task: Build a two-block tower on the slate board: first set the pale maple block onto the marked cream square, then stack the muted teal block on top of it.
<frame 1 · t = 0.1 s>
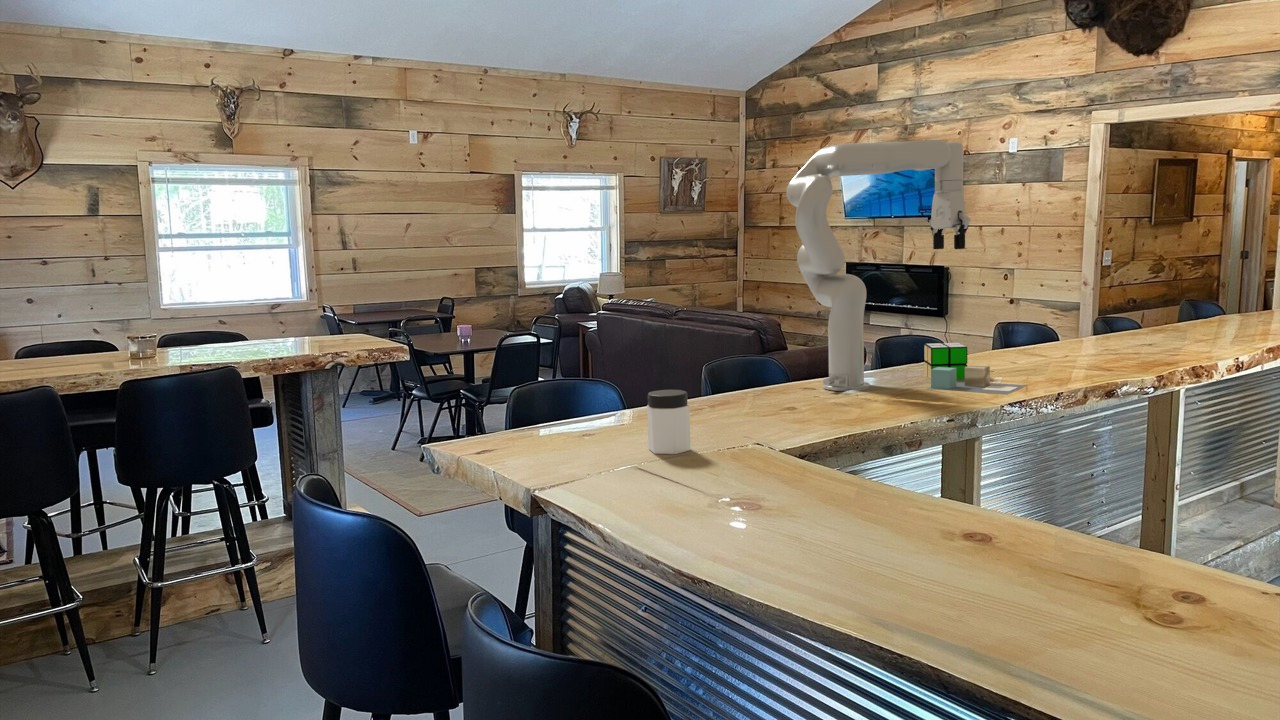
hand: (948, 249, 262), 37 cm above the bar counter, tool pointing down, fingers open, 9 cm apart
puzzle cube: (945, 380, 266), on the bar counter
slate board: (976, 389, 247), on the bar counter
jar: (669, 451, 191), on the bar counter
maple block: (977, 385, 249), point 1 cm above the bar counter, touching slate board
teal block: (943, 387, 248), point 1 cm above the bar counter, touching slate board
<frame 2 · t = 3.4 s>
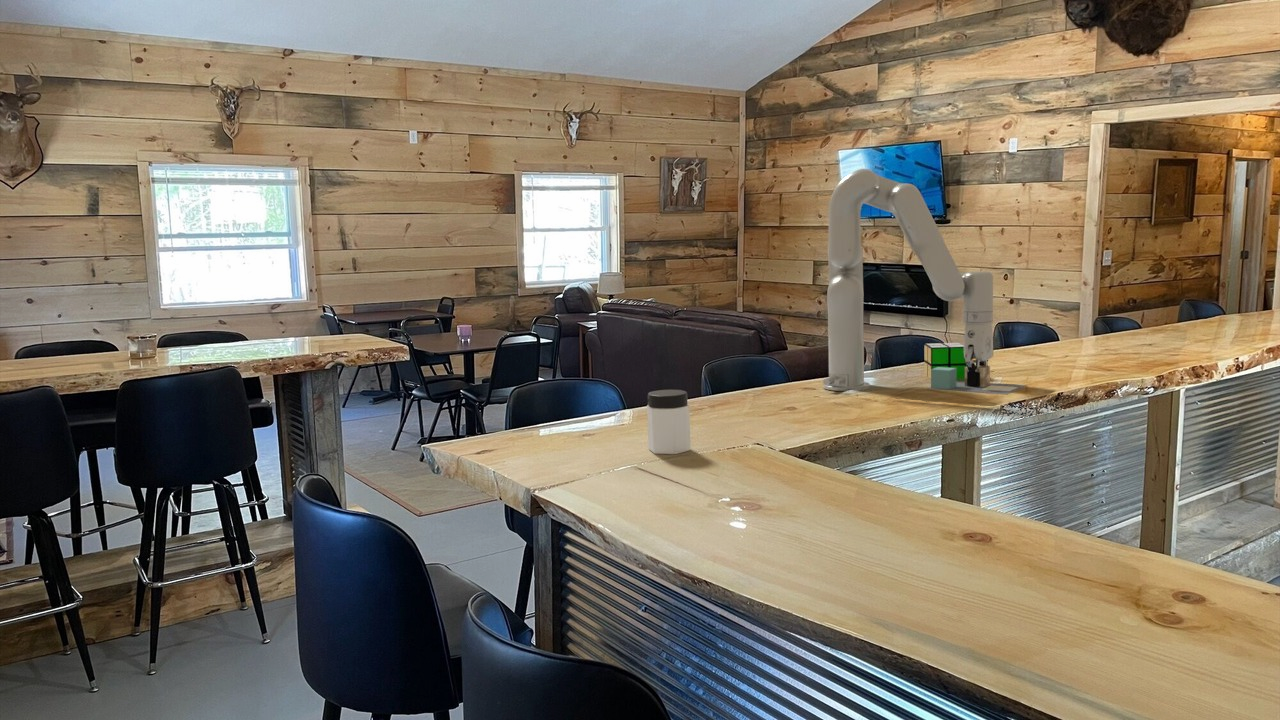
hand: (977, 384, 249), 1 cm above the bar counter, tool pointing down, fingers closed on maple block, 5 cm apart
maple block: (977, 385, 249), point 1 cm above the bar counter, touching gripper, slate board
everything else where it was.
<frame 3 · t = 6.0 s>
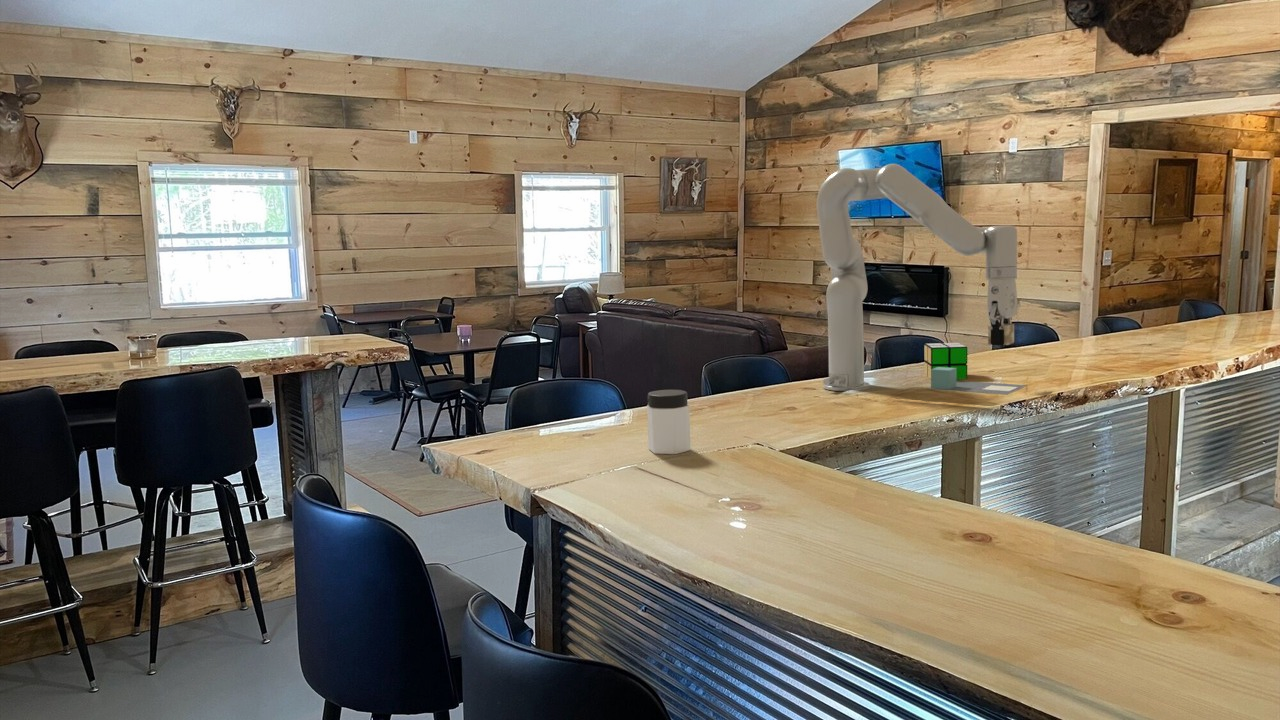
hand: (1001, 343, 241), 13 cm above the bar counter, tool pointing down, fingers closed on maple block, 5 cm apart
maple block: (1001, 343, 241), point 13 cm above the bar counter, touching gripper
everything else where it was.
when the fingers open (2 cm above the bar counter, at t = 8.2 s): maple block stays where it is, resting on slate board.
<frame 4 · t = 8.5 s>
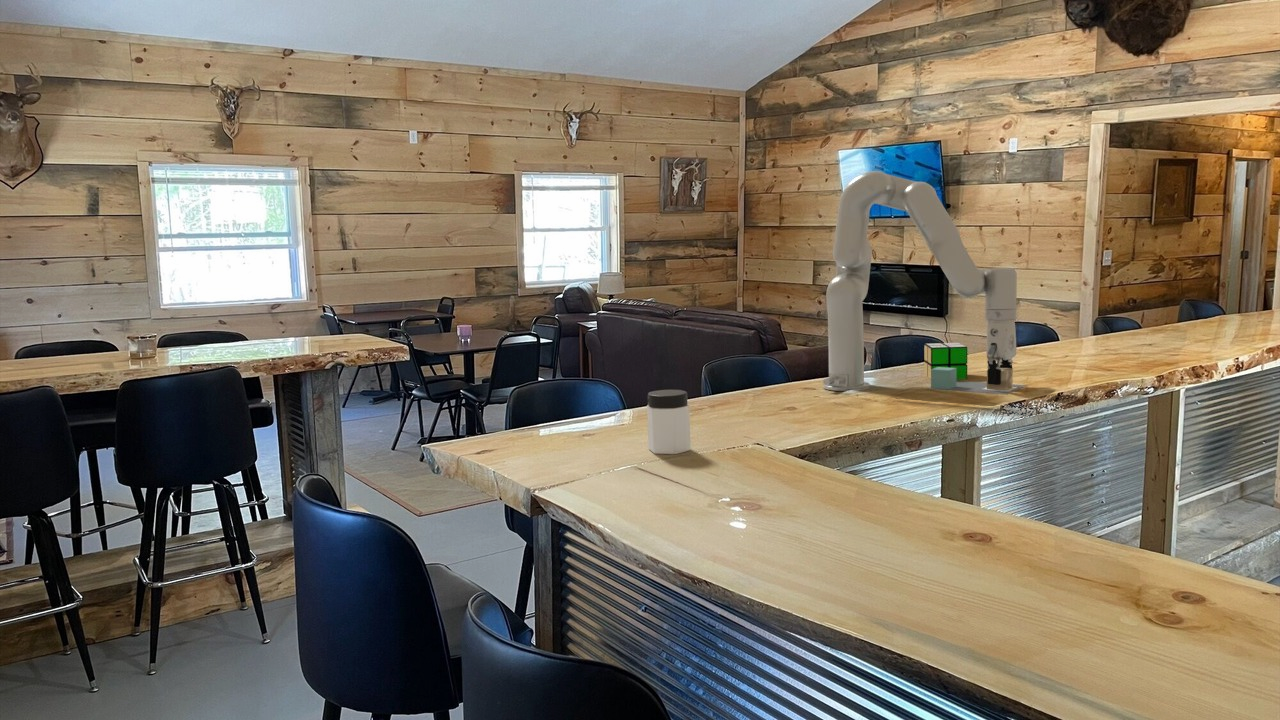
hand: (1000, 381, 243), 3 cm above the bar counter, tool pointing down, fingers open, 8 cm apart
maple block: (999, 388, 243), point 1 cm above the bar counter, touching slate board
everything else where it was.
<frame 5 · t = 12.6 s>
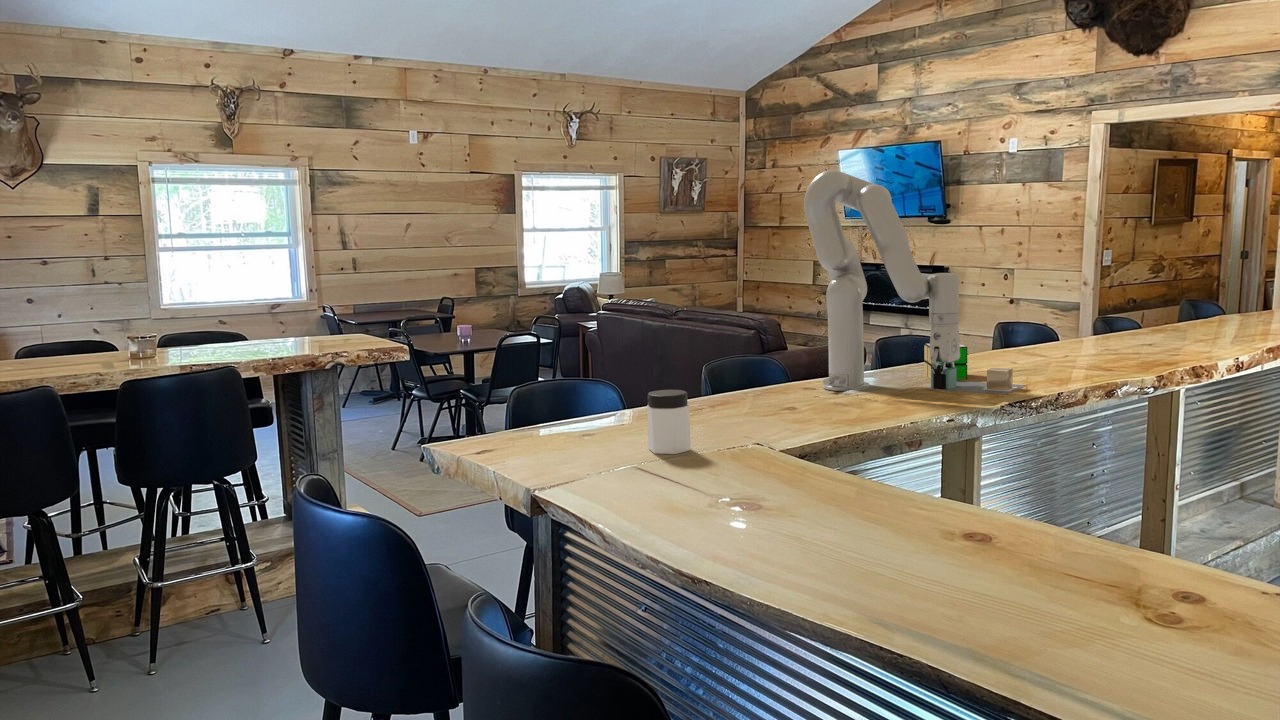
hand: (943, 386, 248), 1 cm above the bar counter, tool pointing down, fingers closed on slate board, teal block, 5 cm apart
teal block: (943, 387, 248), point 1 cm above the bar counter, touching gripper, slate board
everything else where it was.
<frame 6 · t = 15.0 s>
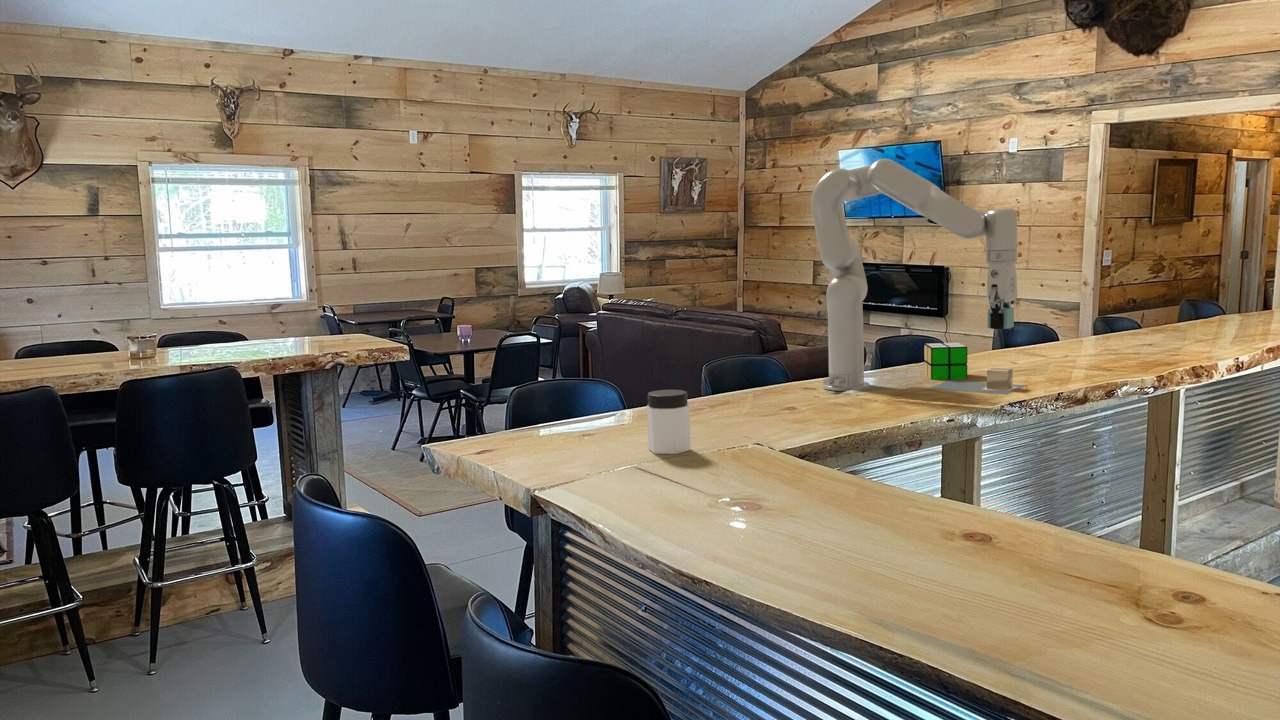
hand: (1000, 326, 241), 17 cm above the bar counter, tool pointing down, fingers closed on teal block, 5 cm apart
teal block: (1000, 327, 241), point 17 cm above the bar counter, touching gripper
everything else where it was.
when the fingers open (7 cm above the bar counter, at t = 17.1 s): teal block stays where it is, resting on maple block.
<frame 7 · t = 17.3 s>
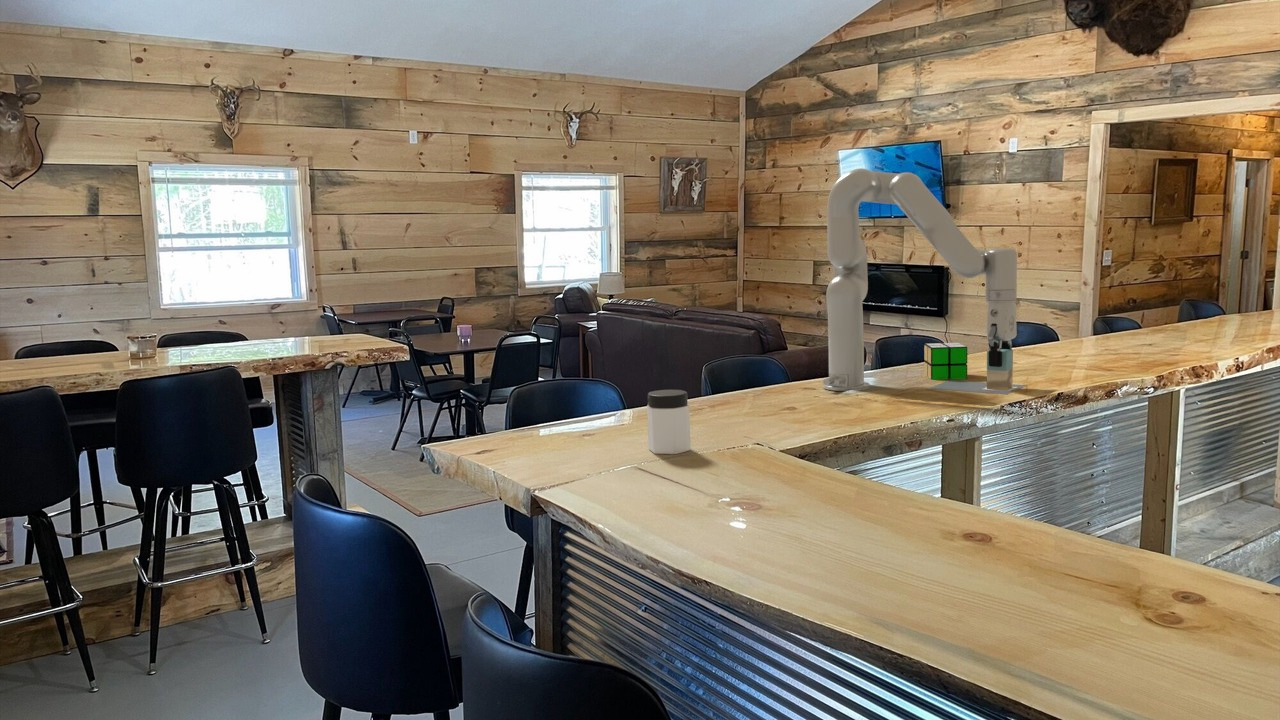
hand: (1000, 364, 242), 7 cm above the bar counter, tool pointing down, fingers open, 6 cm apart
maple block: (999, 388, 243), point 1 cm above the bar counter, touching slate board, teal block
teal block: (999, 369, 242), point 6 cm above the bar counter, touching maple block
everything else where it was.
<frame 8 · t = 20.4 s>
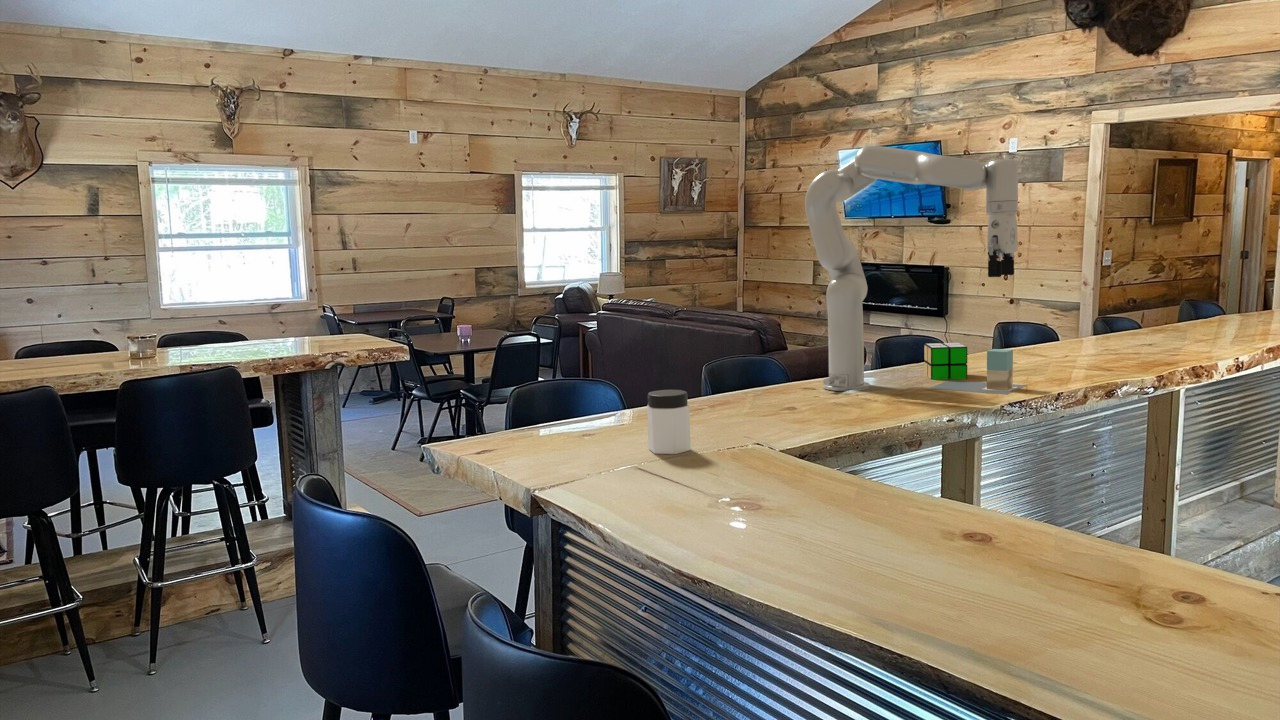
hand: (1001, 275, 239), 30 cm above the bar counter, tool pointing down, fingers open, 9 cm apart
nothing on the bar counter moved.
at the end: maple block 0.1 cm from the target spot, point 0.9 cm above the bar counter; teal block 0.0 cm off-centre on the maple block, point 5.0 cm above the maple block's base; teal block tilted 0° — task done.
